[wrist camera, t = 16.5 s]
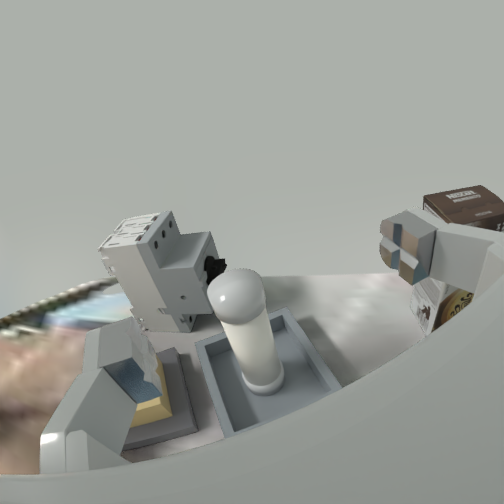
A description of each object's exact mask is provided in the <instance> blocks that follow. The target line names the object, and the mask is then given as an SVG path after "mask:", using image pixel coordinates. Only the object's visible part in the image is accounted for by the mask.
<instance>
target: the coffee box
mask: <svg viewBox="0 0 504 504" xmlns="http://www.w3.org/2000/svg"><path fill="white" fill-rule="evenodd" d="M423 198H424V199H423V200H424V201H423V210H424V211H426V212H428V213H430V214H432V215H433V216H435V217H437V218H439V219H440V220H442V221H444V222H446V223H447V224H449V223H455V224H461V225H466V226H472V227H477V228H483V229H488V230H493V231H498V232H503V233H504V202H503V201H502V200H501V199H500V198H499V197H498V196H496V195H495V194H494V193H492V192H491V191H489V190H488V189H486V188H485V187H483V186H481V185H478V186H473V187H467V188H462V189H456V190H451V191H445V192H440V193H435V194H430V195H425V196H424V197H423ZM473 297H474V293H471V292H468V291H466V290H463V289H460V288H457V287H455V286H452V285H449V284H446V283H444V282H441V281H438V280H435V279H432V278H429V276H428V277H427V278H425V279H423V280H421V281H419V282H418V283H416V284H414V289H413V295H412V300H411V305H410V308H411V309H412V311H413V313H414V315H415V317H416V318H417V320H418V322H419V324H420V326H421V328H422V329H423V331H424V333H425V335H426V336H428V335H429V334H431V333H432V332H433V331H435V330H436V329H438V328H439V327H440V326H442V325H443V324H444V323H446V322H447V321H448V320H450V319H451V318H452V317H454V316H455V315H456V314H457V313H459V312H460V311H461V310H462V309H464V308H465V307H466V306H467V305H469V304H470V303H471V302H472V299H473Z"/></svg>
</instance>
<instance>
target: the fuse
mask: <svg viewBox="0 0 504 504" xmlns="http://www.w3.org/2000/svg"><path fill="white" fill-rule="evenodd" d="M207 295H208V298H209V301H210V303H211V305H212V308H213V310H214V313H215V315H216V317H217V318H218V319H219V320H220V321H221V323H222V326H223V328H224V330H225V333H226V335H227V338H228V340H229V342H230V345H231V347H232V349H233V352H234V354H235V356H236V359H237V361H238V363H239V365H240V368H241V370H242V377H243V379H244V381H245V384H246V386H247V388H248V389H249V391H250V392H251V393H253V394H255V395H257V396H270V395H273V394H275V393H277V392H278V391H279V390H280V389H281V388H282V387H283V385H284V383H285V373H284V369H283V365H282V362H281V361H280V359H279V357H278V353H277V349H276V345H275V341H274V337H273V333H272V329H271V325H270V321H269V317H268V313H267V310H266V296H265V292H264V288H263V283H262V280H261V277H260V275H259V274H258V273H256V272H255V271H253V270H250V269H234V270H230V271H227V272H224V273H222V274H220V275H219V276H217V277H216V278H215V279H214V280H213V281H212V282H211V283H210V285H209V287H208V289H207Z"/></svg>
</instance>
